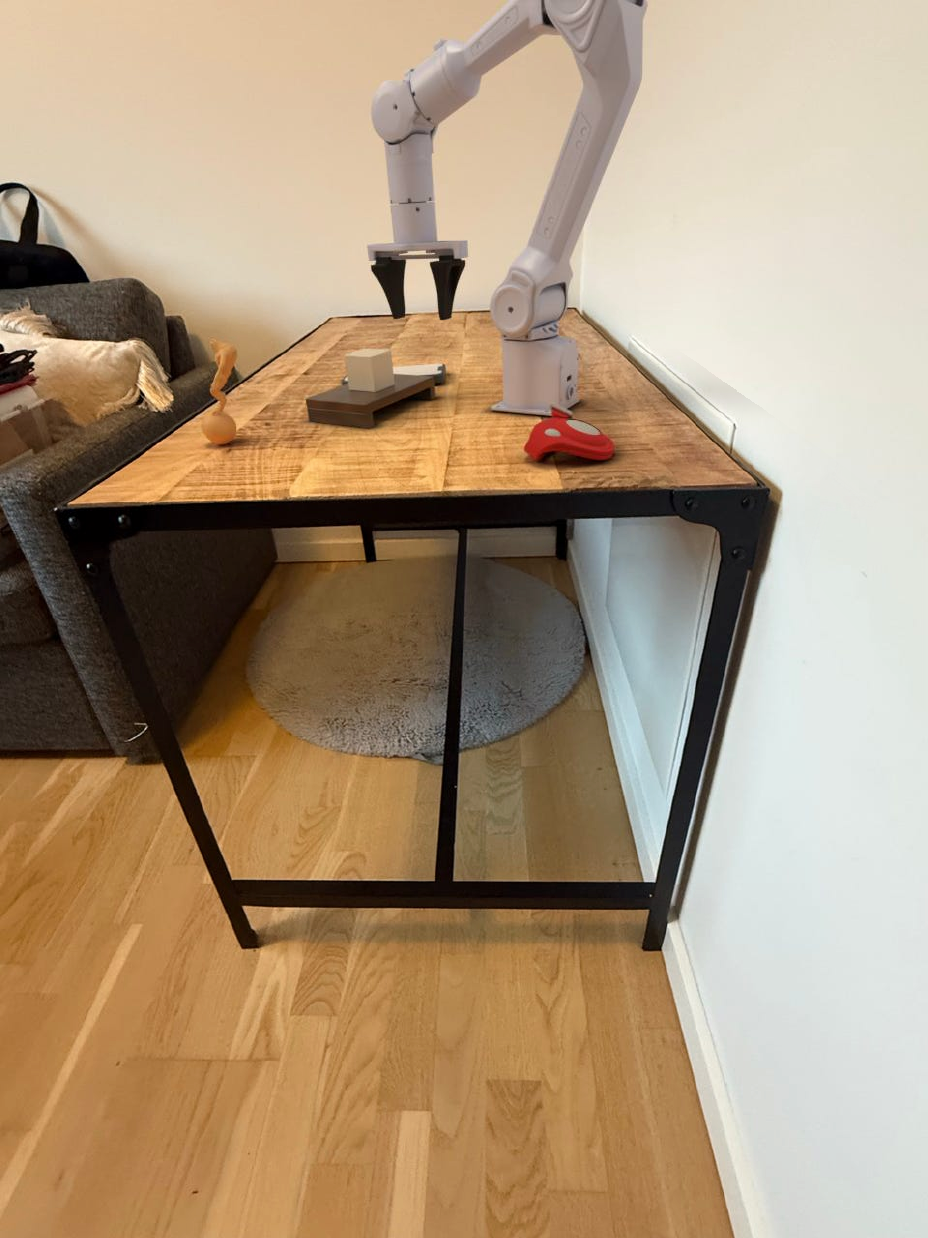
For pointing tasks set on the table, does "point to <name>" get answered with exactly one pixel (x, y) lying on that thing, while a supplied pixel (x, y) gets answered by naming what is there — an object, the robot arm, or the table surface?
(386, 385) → the block
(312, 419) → the shelf
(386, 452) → the table surface
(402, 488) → the table surface
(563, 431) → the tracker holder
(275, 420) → the table surface
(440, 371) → the phone case
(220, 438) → the figurine
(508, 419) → the table surface
